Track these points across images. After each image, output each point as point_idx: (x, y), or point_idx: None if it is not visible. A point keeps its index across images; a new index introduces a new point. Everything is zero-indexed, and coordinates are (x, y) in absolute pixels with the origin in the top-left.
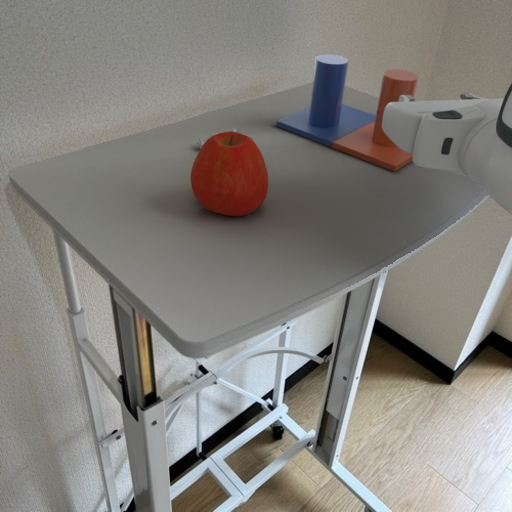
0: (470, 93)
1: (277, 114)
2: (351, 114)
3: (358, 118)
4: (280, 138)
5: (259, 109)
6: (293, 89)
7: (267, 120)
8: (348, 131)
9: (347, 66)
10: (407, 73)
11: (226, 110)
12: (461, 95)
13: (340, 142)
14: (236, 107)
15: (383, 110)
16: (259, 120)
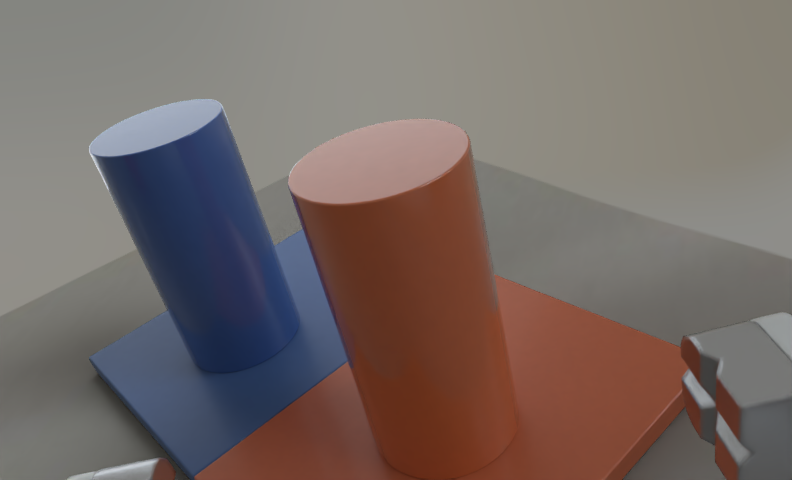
0: (779, 329)
1: (149, 304)
2: None
3: None
4: (52, 450)
5: (114, 289)
6: (274, 182)
7: (94, 342)
8: (303, 383)
9: (217, 142)
10: (420, 138)
11: (17, 313)
12: (689, 352)
13: (223, 476)
14: (57, 292)
15: (343, 339)
16: (69, 347)
